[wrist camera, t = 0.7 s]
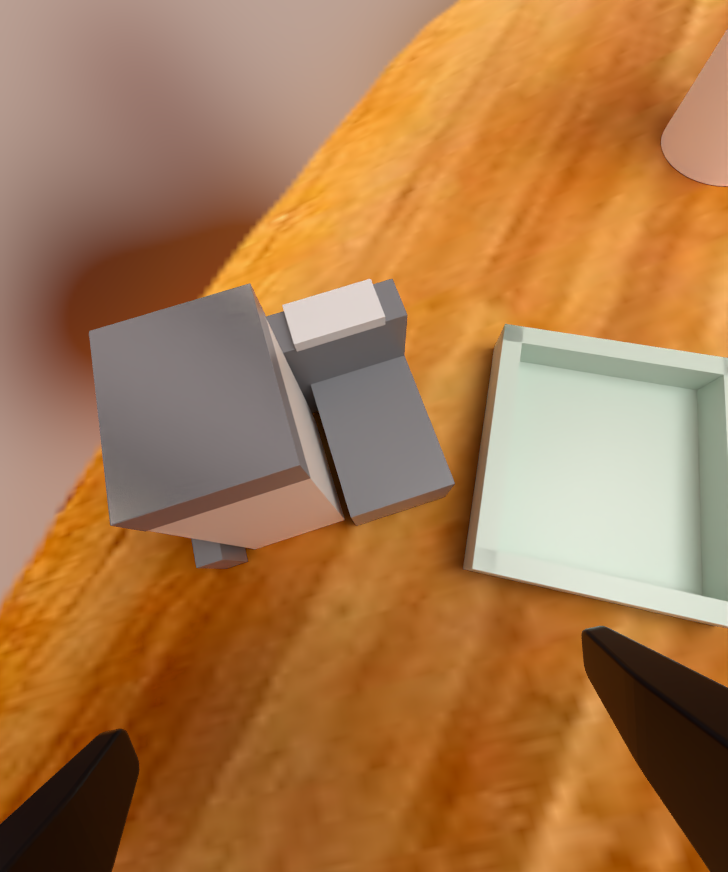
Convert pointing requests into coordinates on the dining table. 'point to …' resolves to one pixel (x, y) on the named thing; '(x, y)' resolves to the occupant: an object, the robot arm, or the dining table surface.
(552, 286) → the dining table surface
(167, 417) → the block
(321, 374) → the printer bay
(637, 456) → the tray
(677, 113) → the cylindrical container
